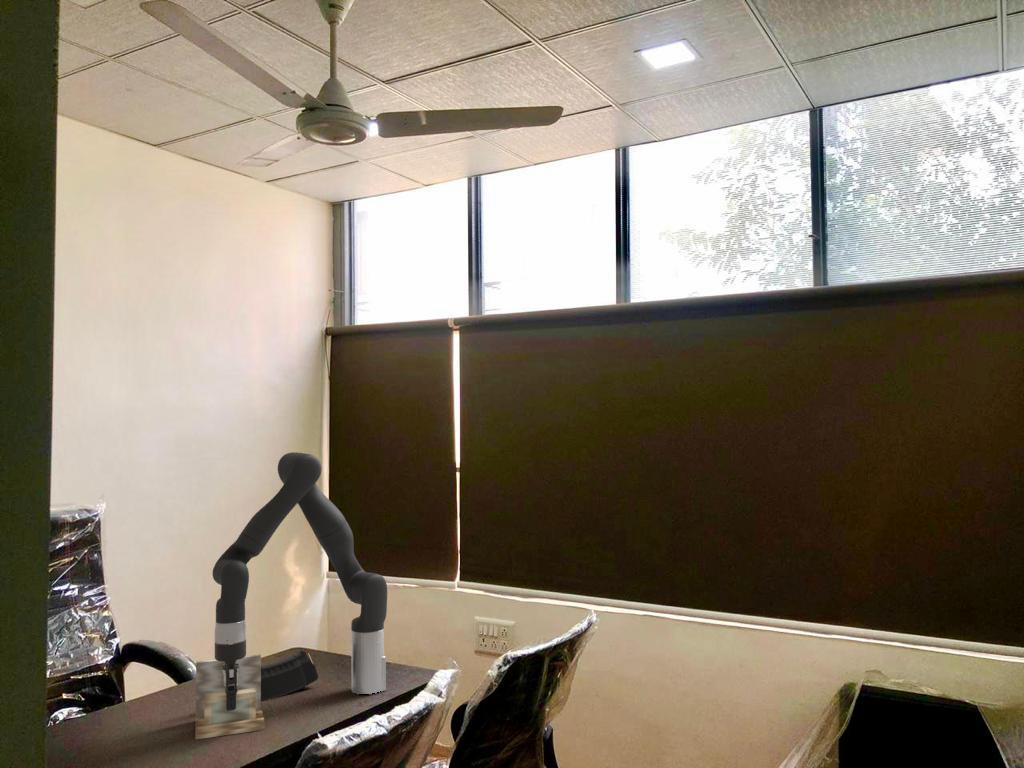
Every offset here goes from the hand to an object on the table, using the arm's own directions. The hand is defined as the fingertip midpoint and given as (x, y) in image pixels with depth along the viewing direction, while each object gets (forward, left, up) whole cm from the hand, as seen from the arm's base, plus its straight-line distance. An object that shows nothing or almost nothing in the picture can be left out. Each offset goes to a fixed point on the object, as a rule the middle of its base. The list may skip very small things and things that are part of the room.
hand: (230, 704), depth 199 cm
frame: (0, 0, -5) cm, 5 cm away
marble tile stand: (0, -3, -6) cm, 7 cm away
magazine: (-10, -21, -6) cm, 24 cm away
